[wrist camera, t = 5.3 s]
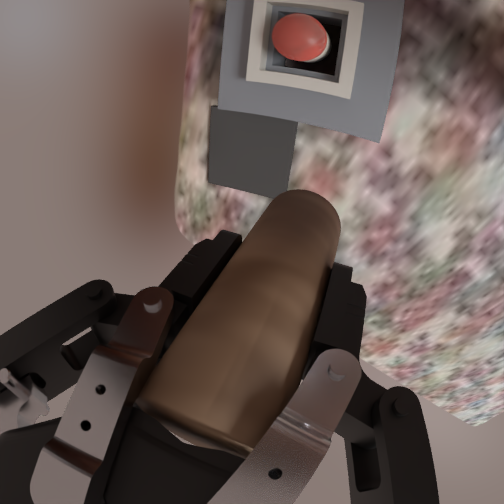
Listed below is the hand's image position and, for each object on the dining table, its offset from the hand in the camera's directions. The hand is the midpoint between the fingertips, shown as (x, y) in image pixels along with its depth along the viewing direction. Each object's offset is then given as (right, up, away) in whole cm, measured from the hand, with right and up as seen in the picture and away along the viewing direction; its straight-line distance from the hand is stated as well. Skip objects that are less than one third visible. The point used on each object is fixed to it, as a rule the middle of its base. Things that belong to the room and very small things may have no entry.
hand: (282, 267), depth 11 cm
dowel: (+1, +2, +2) cm, 3 cm away
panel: (+4, +19, +9) cm, 21 cm away
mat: (-1, +11, +18) cm, 21 cm away
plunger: (+4, +17, +7) cm, 19 cm away
